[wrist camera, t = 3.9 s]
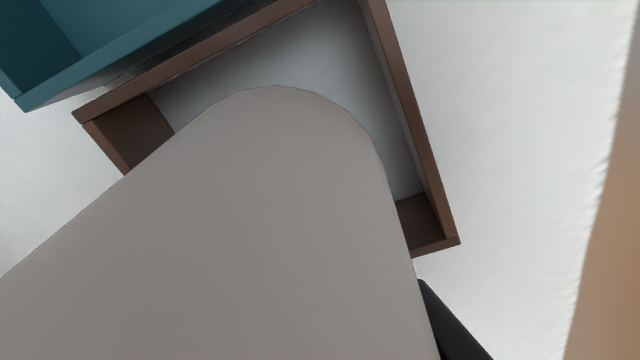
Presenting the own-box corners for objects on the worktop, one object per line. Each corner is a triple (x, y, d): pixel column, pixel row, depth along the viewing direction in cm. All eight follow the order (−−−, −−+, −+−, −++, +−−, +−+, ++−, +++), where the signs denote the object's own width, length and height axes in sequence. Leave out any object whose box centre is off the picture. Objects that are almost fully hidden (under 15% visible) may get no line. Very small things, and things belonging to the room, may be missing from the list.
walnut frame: (436, 195, 16) (461, 244, 13) (254, 256, 19) (237, 310, 16) (359, -36, 12) (369, -51, 8) (130, 87, 14) (69, 113, 11)
